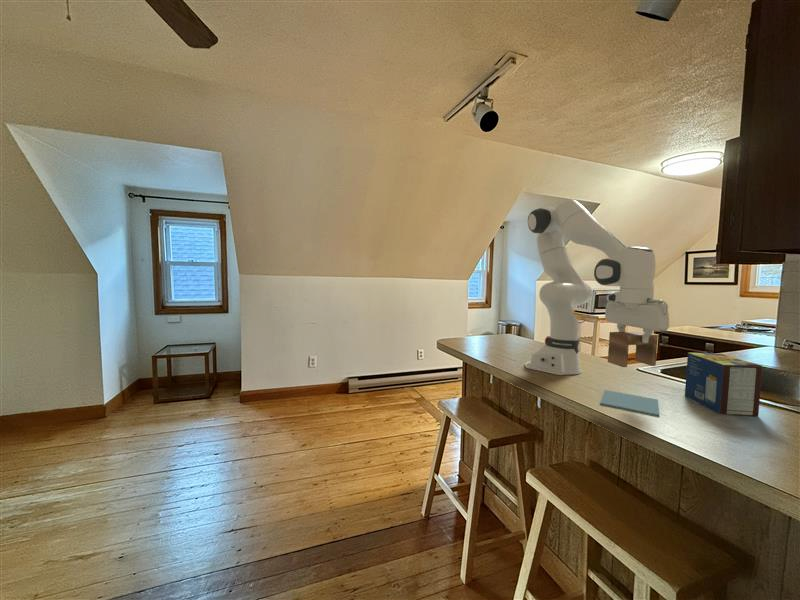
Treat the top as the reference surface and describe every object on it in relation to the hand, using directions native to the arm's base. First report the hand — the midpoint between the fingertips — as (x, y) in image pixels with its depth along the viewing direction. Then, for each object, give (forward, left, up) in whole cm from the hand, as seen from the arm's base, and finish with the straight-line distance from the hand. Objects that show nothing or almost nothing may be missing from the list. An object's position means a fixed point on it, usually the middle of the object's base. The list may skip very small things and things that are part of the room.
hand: (633, 340), depth 106 cm
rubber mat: (0, 0, -21) cm, 21 cm away
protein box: (+23, +15, -21) cm, 35 cm away
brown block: (-4, -4, -3) cm, 7 cm away
